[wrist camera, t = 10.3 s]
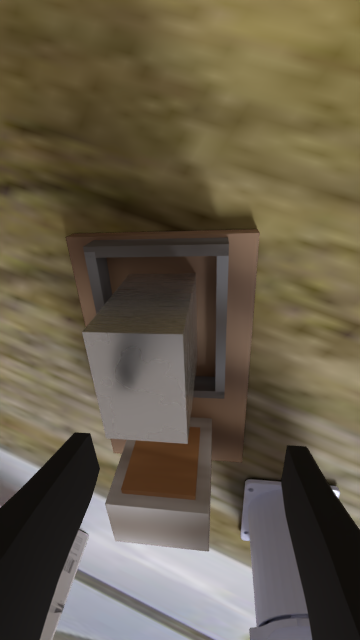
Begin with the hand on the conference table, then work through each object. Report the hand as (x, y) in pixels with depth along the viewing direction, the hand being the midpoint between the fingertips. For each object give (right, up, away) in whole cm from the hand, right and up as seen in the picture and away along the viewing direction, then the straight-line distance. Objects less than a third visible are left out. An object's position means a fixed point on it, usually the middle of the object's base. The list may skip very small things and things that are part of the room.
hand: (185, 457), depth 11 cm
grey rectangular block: (-1, +5, +8) cm, 10 cm away
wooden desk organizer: (-1, +2, +11) cm, 11 cm away
